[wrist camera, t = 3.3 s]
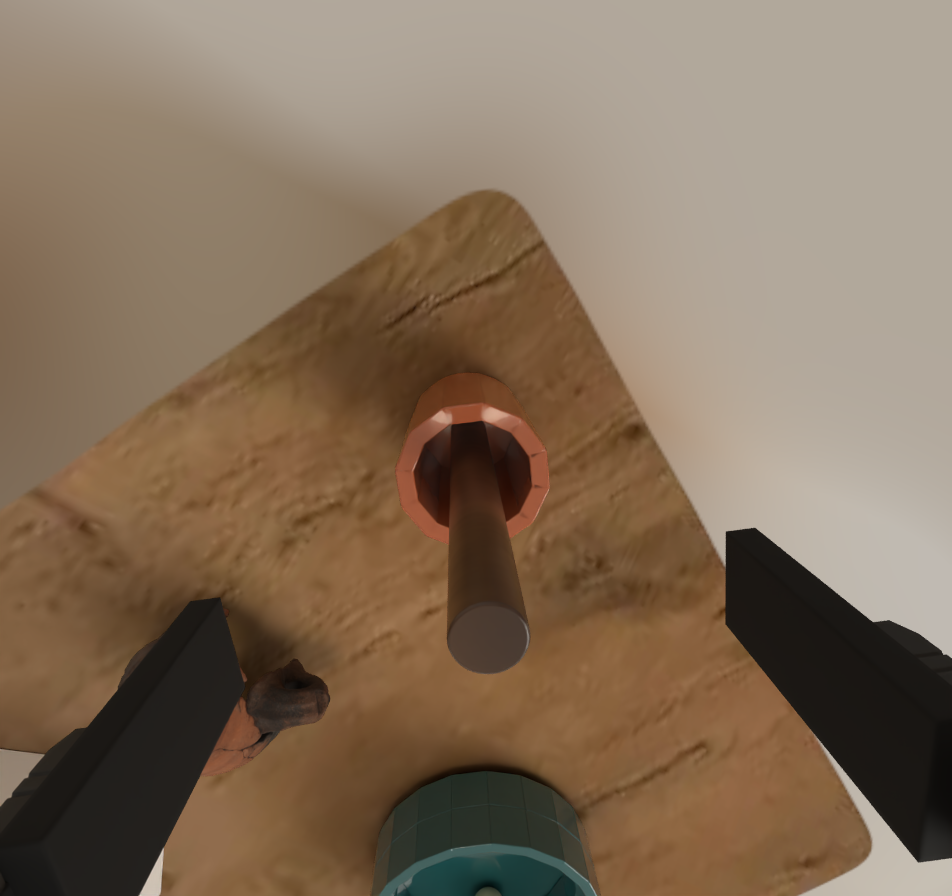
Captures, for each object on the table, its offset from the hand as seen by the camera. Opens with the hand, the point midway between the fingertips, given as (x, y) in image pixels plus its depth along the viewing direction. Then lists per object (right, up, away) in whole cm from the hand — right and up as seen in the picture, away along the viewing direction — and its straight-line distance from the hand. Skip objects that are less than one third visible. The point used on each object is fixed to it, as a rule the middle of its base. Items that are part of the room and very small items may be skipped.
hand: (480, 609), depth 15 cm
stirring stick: (-1, +5, +18) cm, 19 cm away
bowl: (0, -26, +27) cm, 37 cm away
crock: (-1, +5, +19) cm, 19 cm away
